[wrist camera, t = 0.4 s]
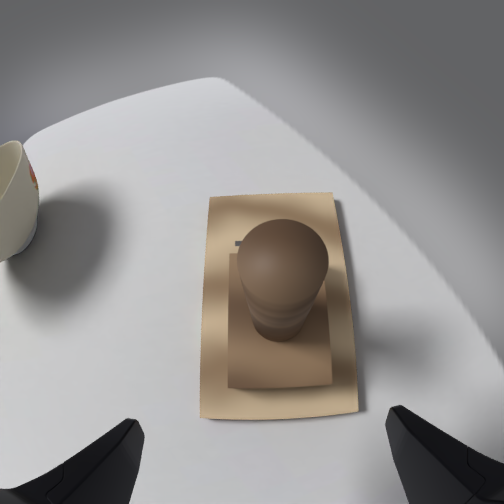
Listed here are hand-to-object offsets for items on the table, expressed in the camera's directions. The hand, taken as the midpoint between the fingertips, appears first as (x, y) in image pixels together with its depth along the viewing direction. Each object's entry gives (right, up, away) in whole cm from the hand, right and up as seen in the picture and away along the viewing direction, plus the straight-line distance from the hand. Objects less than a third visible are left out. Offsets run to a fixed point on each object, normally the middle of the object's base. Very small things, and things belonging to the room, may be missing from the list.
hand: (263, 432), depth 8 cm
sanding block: (+2, 0, +14) cm, 14 cm away
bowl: (-32, +8, +21) cm, 39 cm away
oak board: (+2, +2, +16) cm, 16 cm away
